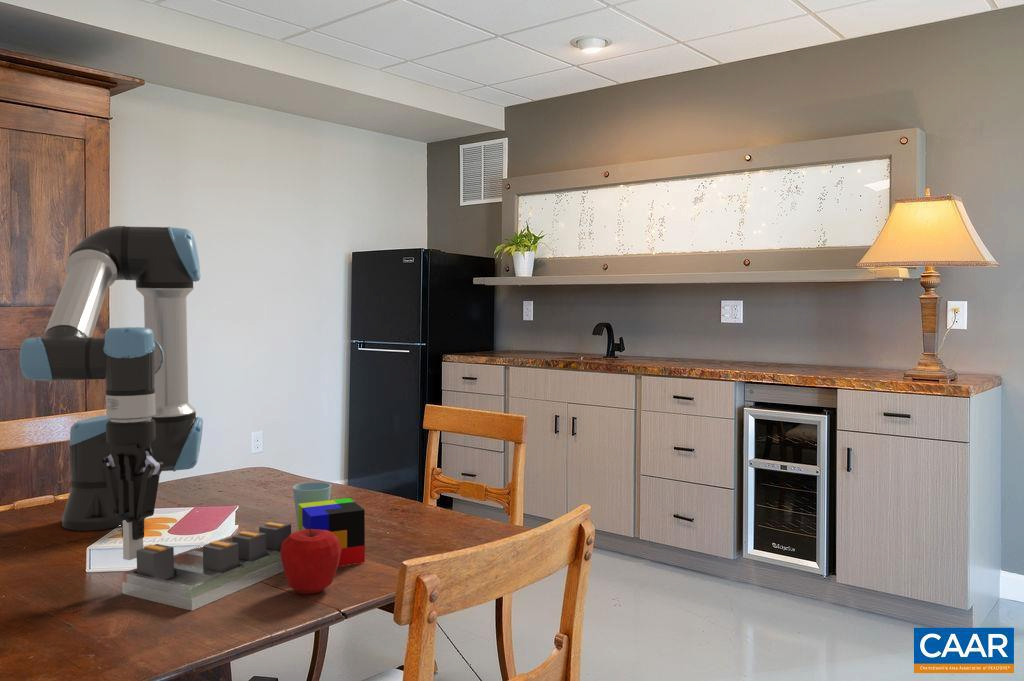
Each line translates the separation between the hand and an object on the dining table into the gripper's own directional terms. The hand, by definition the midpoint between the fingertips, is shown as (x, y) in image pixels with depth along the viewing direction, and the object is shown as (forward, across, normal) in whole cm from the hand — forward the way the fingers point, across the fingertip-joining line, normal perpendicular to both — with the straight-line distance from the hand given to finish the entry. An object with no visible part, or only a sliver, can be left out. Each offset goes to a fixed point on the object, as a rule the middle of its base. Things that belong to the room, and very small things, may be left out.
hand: (133, 557), depth 133 cm
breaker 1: (+3, +5, 0) cm, 6 cm away
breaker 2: (+3, +13, +7) cm, 15 cm away
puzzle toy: (+5, +20, +27) cm, 34 cm away
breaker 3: (+3, +13, +13) cm, 19 cm away
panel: (+5, +9, +10) cm, 15 cm away
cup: (+5, +7, +37) cm, 38 cm away
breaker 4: (+3, +13, +20) cm, 24 cm away
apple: (+5, +28, +12) cm, 31 cm away
